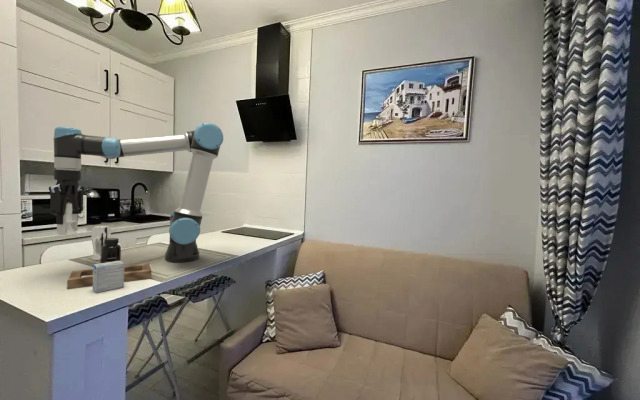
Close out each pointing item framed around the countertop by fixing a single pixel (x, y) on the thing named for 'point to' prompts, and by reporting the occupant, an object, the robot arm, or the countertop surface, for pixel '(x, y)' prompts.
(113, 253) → the supplement bottle
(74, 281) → the rack block
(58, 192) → the robot arm
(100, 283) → the medicine box
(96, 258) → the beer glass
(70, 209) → the candle
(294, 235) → the countertop surface
